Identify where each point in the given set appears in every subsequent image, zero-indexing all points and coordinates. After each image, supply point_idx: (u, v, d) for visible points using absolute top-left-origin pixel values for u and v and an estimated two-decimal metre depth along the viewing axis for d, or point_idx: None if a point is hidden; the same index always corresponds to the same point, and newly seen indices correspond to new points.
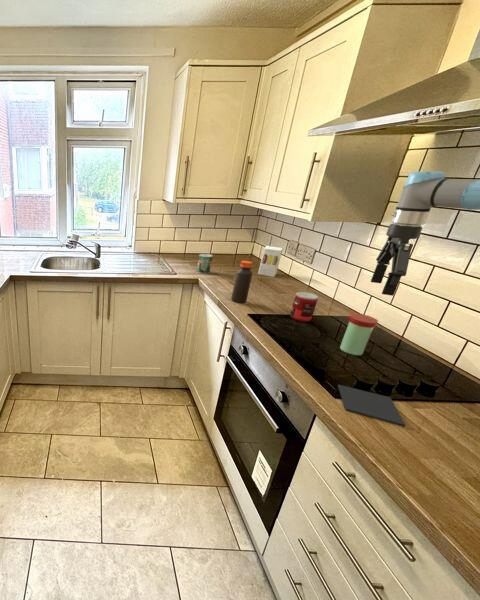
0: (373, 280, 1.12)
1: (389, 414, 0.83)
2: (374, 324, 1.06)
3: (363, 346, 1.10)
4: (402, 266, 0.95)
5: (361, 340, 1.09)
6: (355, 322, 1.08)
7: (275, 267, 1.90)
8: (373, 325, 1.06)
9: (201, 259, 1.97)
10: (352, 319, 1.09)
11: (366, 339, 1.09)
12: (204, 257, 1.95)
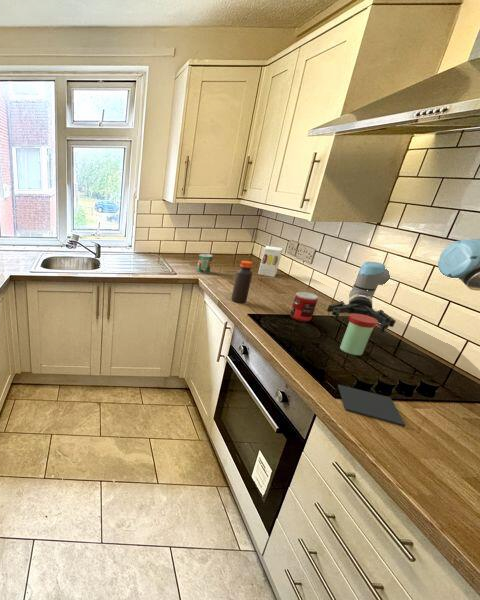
0: (381, 329, 1.14)
1: (389, 414, 0.83)
2: (374, 324, 1.06)
3: (363, 346, 1.10)
4: None
5: (361, 340, 1.09)
6: (355, 322, 1.08)
7: (275, 267, 1.90)
8: (373, 325, 1.06)
9: (201, 259, 1.97)
10: (352, 319, 1.09)
11: (366, 339, 1.09)
12: (204, 257, 1.95)
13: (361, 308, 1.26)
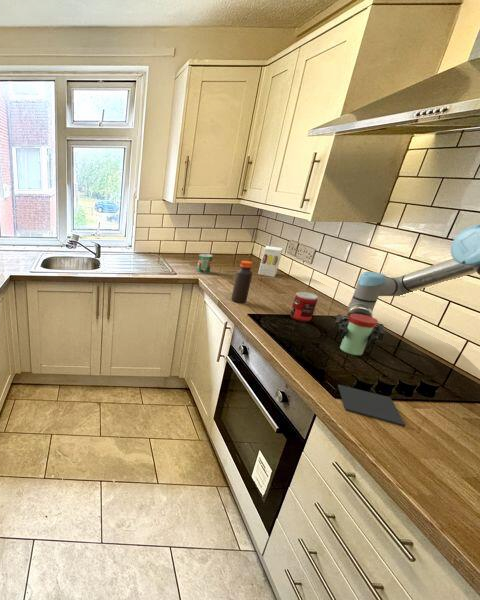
0: (368, 343, 1.07)
1: (389, 414, 0.83)
2: (374, 324, 1.06)
3: (363, 346, 1.10)
4: None
5: (361, 340, 1.09)
6: (355, 322, 1.08)
7: (275, 267, 1.90)
8: (373, 325, 1.06)
9: (201, 259, 1.97)
10: (352, 319, 1.09)
11: (366, 339, 1.09)
12: (204, 257, 1.95)
13: None
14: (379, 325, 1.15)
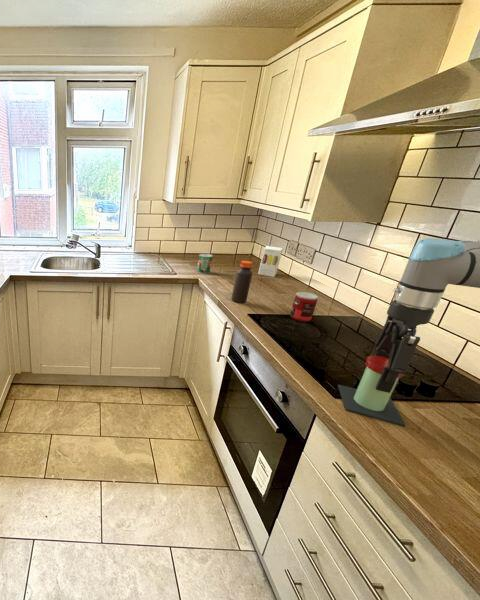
0: None
1: (389, 414, 0.83)
2: None
3: (385, 400, 0.83)
4: (402, 363, 0.75)
5: (383, 392, 0.82)
6: (375, 369, 0.81)
7: (275, 267, 1.90)
8: (400, 375, 0.79)
9: (201, 259, 1.97)
10: (371, 365, 0.82)
11: None
12: (204, 257, 1.95)
13: None
14: None
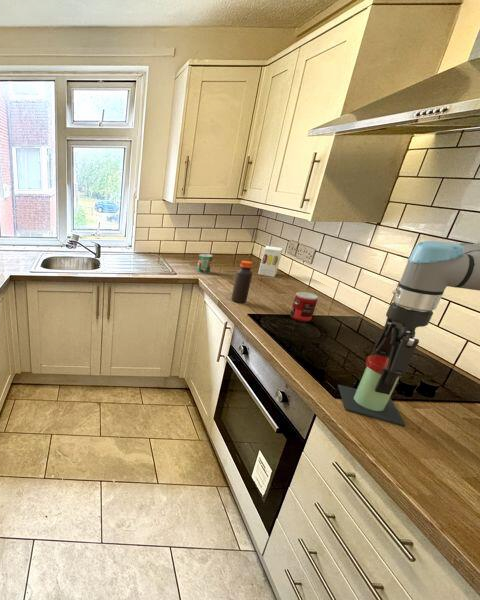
0: None
1: (389, 414, 0.83)
2: None
3: (385, 400, 0.83)
4: (401, 365, 0.75)
5: None
6: None
7: (275, 267, 1.90)
8: None
9: (201, 259, 1.97)
10: None
11: None
12: (204, 257, 1.95)
13: None
14: None
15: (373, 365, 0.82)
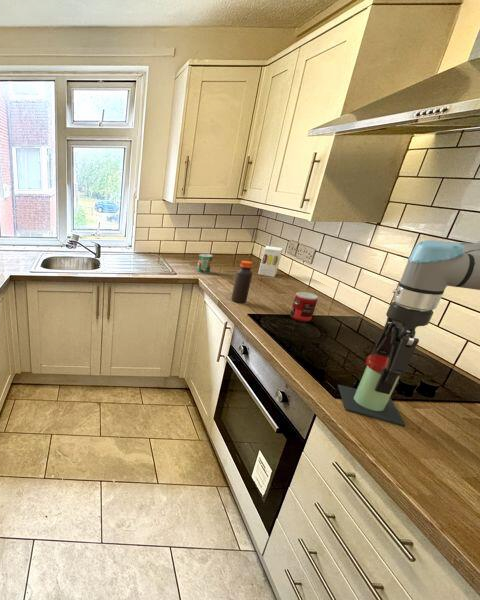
0: None
1: (389, 414, 0.83)
2: None
3: (385, 400, 0.83)
4: (401, 365, 0.75)
5: None
6: None
7: (275, 267, 1.90)
8: None
9: (201, 259, 1.97)
10: None
11: None
12: (204, 257, 1.95)
13: None
14: None
15: None
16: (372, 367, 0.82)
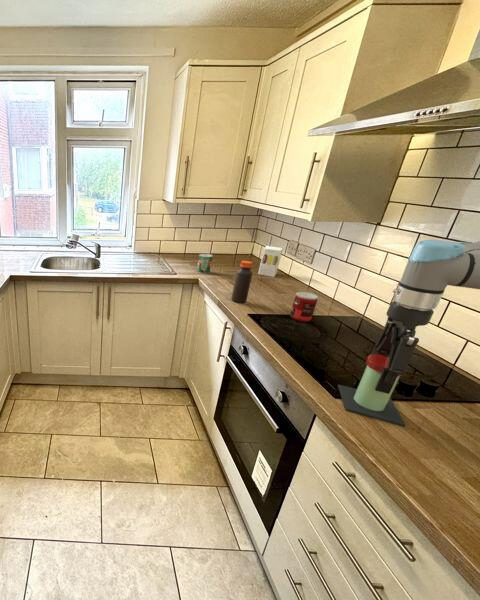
0: None
1: (389, 414, 0.83)
2: (380, 368, 0.81)
3: (385, 400, 0.83)
4: (401, 364, 0.75)
5: None
6: (366, 359, 0.85)
7: (275, 267, 1.90)
8: (379, 369, 0.81)
9: (201, 259, 1.97)
10: None
11: (390, 391, 0.82)
12: (204, 257, 1.95)
13: None
14: None
15: None
16: None
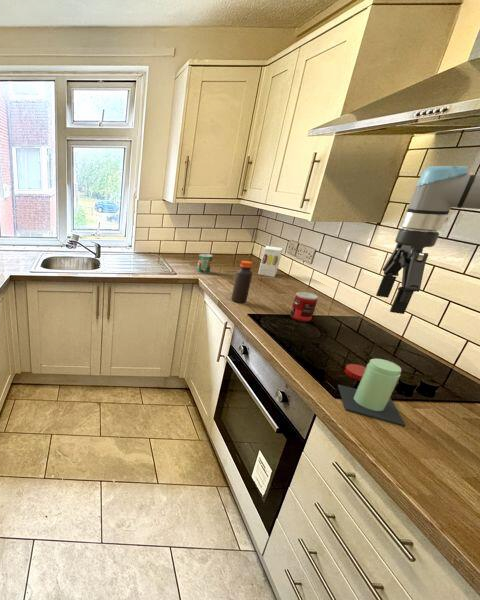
0: None
1: (389, 414, 0.83)
2: None
3: (385, 400, 0.83)
4: None
5: (383, 392, 0.82)
6: None
7: (275, 267, 1.90)
8: None
9: (201, 259, 1.97)
10: None
11: (390, 391, 0.82)
12: (204, 257, 1.95)
13: None
14: (411, 260, 0.81)
15: (353, 374, 0.98)
16: None
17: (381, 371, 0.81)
